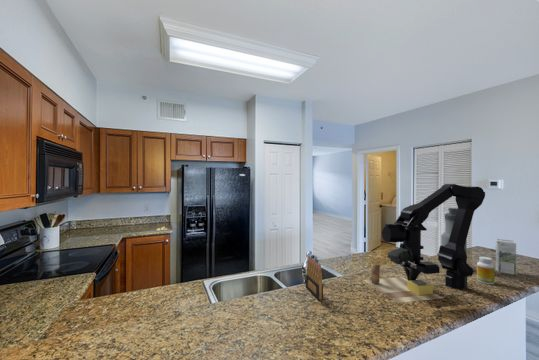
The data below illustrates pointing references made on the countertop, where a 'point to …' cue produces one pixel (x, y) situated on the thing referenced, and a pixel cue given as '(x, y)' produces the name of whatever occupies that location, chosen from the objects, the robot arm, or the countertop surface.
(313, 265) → the ammunition clip
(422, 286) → the block
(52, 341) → the countertop surface
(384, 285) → the plywood panel
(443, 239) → the water bottle
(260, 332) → the countertop surface
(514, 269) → the syrup box
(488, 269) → the supplement bottle
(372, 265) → the wooden tool handle
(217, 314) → the countertop surface
